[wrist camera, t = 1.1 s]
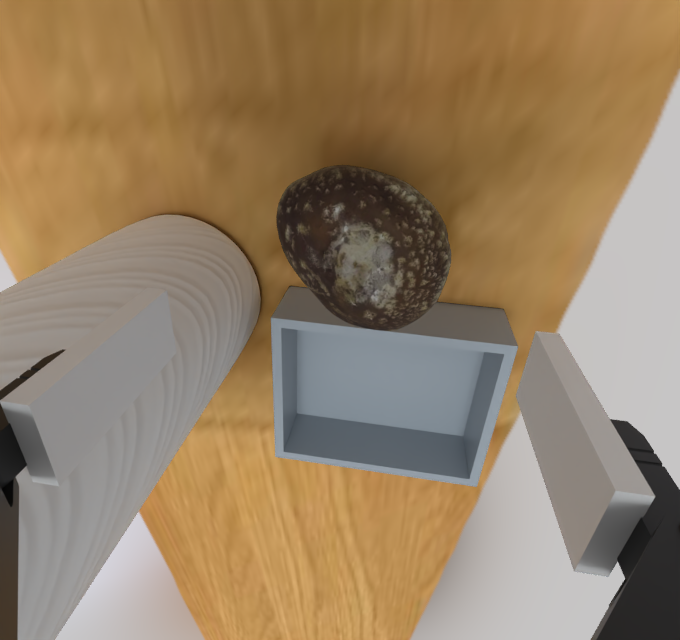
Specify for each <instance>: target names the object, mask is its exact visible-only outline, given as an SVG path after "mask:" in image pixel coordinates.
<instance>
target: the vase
mask: <svg viewBox="0 0 680 640" xmlns="http://www.w3.org/2000/svg"><path fill="white" fill-rule="evenodd" d="M146 288H155V289H164V290H167V294H168V300H169V307H170V313H171V320H172V326H173V333H174V339H175V346H176V352H177V353H176V354H175V355H174V356H173V357H172V358H171V360H170V361H169V362H168V363H167V364H166V365H165V366H164V368H163V369H162V370H161V371H160V372H159V373H158V374H157V376H156V377H155V378H154V379H153V380H152V381H151V382H150V384H149V385H148V386H147V387H146V388H145V389H144V390H143V392H142V393H141V394H140V395H139V396H138V397H137V398H136V399H135V401H134V402H133V403H132V404H131V405H130V406H129V407H128V409H127V410H126V411H125V412H124V413H123V414H122V415H121V417H120V418H119V419H118V420H117V421H116V422H115V423H114V425H113V426H112V427H111V428H110V429H109V430H108V431H107V433H106V434H105V435H104V436H103V437H102V438H101V439H100V441H99V442H98V443H97V444H96V445H95V446H94V447H93V448H92V450H91V451H90V452H89V453H88V454H87V455H86V456H85V458H84V459H83V460H82V461H81V462H80V463H79V464H78V466H77V467H76V468H75V469H74V470H73V471H72V472H71V474H70V475H69V476H68V477H67V478H66V479H65V480H64V482H63V483H62V484H61V485H60V486H54V485H48V484H42V483H36V482H33V481H32V479H31V476H30V474H29V471H28V469H27V467H25V468H24V469H23V470H22V471H21V472H20V473H19V474H18V475H17V476H16V479H17V482H18V484H19V551H18V640H55V638H56V637H57V635H58V634H59V632H60V631H61V629H62V628H63V626H64V625H65V623H66V622H67V620H68V618H69V617H70V616H71V614H72V613H73V611H74V609H75V608H76V606H77V605H78V603H79V602H80V600H81V599H82V597H83V596H84V594H85V593H86V591H87V590H88V588H89V587H90V585H91V583H92V582H93V580H94V579H95V577H96V576H97V574H98V573H99V571H100V570H101V568H102V567H103V565H104V564H105V562H106V560H107V559H108V557H109V556H110V554H111V553H112V551H113V550H114V548H115V547H116V545H117V544H118V542H119V541H120V539H121V537H122V536H123V534H124V533H125V531H126V530H127V528H128V527H129V525H130V524H131V522H132V521H133V519H134V517H135V516H136V514H137V513H138V511H139V510H140V508H141V507H142V505H143V504H144V502H145V501H146V499H147V497H148V496H149V494H150V493H151V491H152V490H153V488H154V487H155V485H156V484H157V482H158V481H159V479H160V477H161V476H162V474H163V473H164V471H165V470H166V468H167V467H168V465H169V464H170V462H171V460H172V459H173V457H174V456H175V454H176V453H177V451H178V450H179V448H180V447H181V445H182V443H183V442H184V440H185V439H186V437H187V436H188V434H189V433H190V431H191V430H192V428H193V426H194V425H195V423H196V422H197V420H198V419H199V417H200V416H201V414H202V413H203V411H204V409H205V408H206V406H207V405H208V403H209V402H210V400H211V399H212V397H213V396H214V394H215V393H216V391H217V389H218V388H219V386H220V385H221V383H222V382H223V380H224V379H225V377H226V376H227V374H228V372H229V371H230V369H231V368H232V366H233V365H234V363H235V361H236V360H237V358H238V357H239V355H240V353H241V352H242V350H243V348H244V347H245V345H246V343H247V341H248V340H249V338H250V336H251V334H252V332H253V330H254V327H255V325H256V323H257V320H258V316H259V312H260V302H261V298H260V288H259V285H258V281H257V277H256V275H255V273H254V271H253V268H252V266H251V264H250V263H249V261H248V260H247V258H246V256H245V255H244V254H243V252H242V251H241V250H240V249H239V248H238V246H237V245H236V244H235V243H234V242H233V241H232V240H230V239H229V238H228V237H227V236H226V235H225V234H223V233H222V232H220V231H219V230H217V229H216V228H214V227H213V226H211V225H209V224H207V223H205V222H203V221H200V220H197V219H194V218H191V217H186V216H181V215H159V216H153V217H150V218H147V219H144V220H141V221H138V222H136V223H133V224H131V225H128V226H126V227H124V228H122V229H120V230H118V231H116V232H113V233H111V234H109V235H107V236H106V237H104V238H102V239H100V240H98V241H96V242H94V243H92V244H90V245H88V246H86V247H84V248H83V249H81V250H79V251H77V252H75V253H73V254H71V255H69V256H68V257H66V258H64V259H62V260H60V261H58V262H56V263H55V264H53V265H51V266H49V267H47V268H45V269H43V270H41V271H40V272H38V273H36V274H34V275H32V276H30V277H28V278H26V279H24V280H23V281H21V282H19V283H17V284H15V285H13V286H11V287H9V288H7V289H6V290H4V291H2V292H0V390H1V389H3V388H4V387H5V386H7V385H8V384H9V383H11V382H12V381H13V380H15V379H16V378H19V377H20V375H22V374H23V373H24V372H26V371H27V370H30V369H31V367H32V366H34V365H35V364H36V363H38V362H39V361H40V360H42V359H43V358H44V357H47V356H49V355H51V354H53V353H55V352H58V351H60V350H62V349H64V350H67V349H68V348H69V347H70V346H72V345H73V344H74V343H76V342H77V341H78V340H80V339H81V338H82V337H84V336H85V335H86V334H87V333H89V332H90V331H91V330H93V329H94V328H95V327H97V326H98V325H99V324H100V323H102V322H103V321H104V320H106V319H107V318H108V317H110V316H111V315H112V314H113V313H115V312H116V311H117V310H119V309H120V308H121V307H123V306H124V305H125V304H126V303H128V302H129V301H130V300H132V299H133V298H134V297H136V296H137V295H138V294H140V293H141V292H142V291H143V290H145V289H146Z"/></svg>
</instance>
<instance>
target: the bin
mask: <svg viewBox="0 0 680 640" xmlns="http://www.w3.org/2000/svg"><path fill="white" fill-rule="evenodd" d="M271 336H272V367H273V398H274V429H275V457H281V458H287V459H294V460H301V461H307V462H314V463H321V464H327V465H334V466H341V467H348V468H354V469H361V470H368V471H374V472H381V473H388V474H394V475H401V476H408V477H414V478H421V479H428V480H435V481H441V482H448V483H455V484H461V485H468V486H475V487H477V484H478V481H479V477H480V474H481V471H482V467H483V464H484V460H485V457H486V454H487V450H488V447H489V443H490V440H491V437H492V433H493V430H494V427H495V423H496V420H497V416H498V413H499V410H500V406H501V403H502V400H503V396H504V393H505V389H506V386H507V383H508V379H509V376H510V372H511V369H512V366H513V362H514V359H515V356H516V352H517V349H518V345H517V342H516V340H515V337H514V335H513V332H512V330H511V327H510V324H509V322H508V319H507V317H506V314H505V312H504V309H499V308H489V307H480V306H471V305H461V304H452V303H443V302H436V303H435V304H434V305H433V307H432V308H431V309H430V310H429V311H428V312H427V313H426V314H424V315H423V316H422V317H421V318H419V319H418V320H416V321H414V322H412V323H411V324H409V325H407V326H405V327H403V328H400V329H398V330H392V331H379V330H372V329H366V328H362V327H359V326H355V325H351V324H349V323H347V322H345V321H343V320H341V319H340V318H338V317H336V316H335V315H333V314H332V313H331V312H330V311H328V310H327V309H326V308H325V307H324V305H323V304H322V303H321V302H320V301H319V300H318V298H317V297H316V296H315V295H314V294H313V293H312V292H311V290H310V289H309V288H304V287H295V286H290V287H289V288H288V290H287V292H286V293H285V295H284V297H283V298H282V300H281V302H280V303H279V305H278V307H277V308H276V310H275V312H274V313H273V315H272V317H271Z"/></svg>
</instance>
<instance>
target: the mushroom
mask: <svg viewBox="0 0 680 640" xmlns="http://www.w3.org/2000/svg"><path fill="white" fill-rule="evenodd" d="M277 229H278V235H279V239H280V242H281V245H282V249H283V251H284V253H285V255H286V257H287V259H288V261H289V263H290V265H291V266H292V268H293V269H294V270H295V272H296V273H297V274H298V276H299V277H300V278H301V280H302V281H303V282H304V284H305V285H306V286H307V287H308V288H309V289H310V290H311V292H312V293H313V294H314V295H315V296H316V297H317V298H318V300H319V301H320V302H321V303H322V304H323V305H324V307H325V308H326V309H327V310H328V311H330V312H331V313H332V314H333V315H335V316H336V317H338V318H340V319H341V320H343V321H345V322H347V323H349V324H351V325H355V326H359V327H362V328H366V329H372V330H379V331H392V330H398V329H400V328H403V327H405V326H407V325H409V324H411V323H412V322H414V321H416V320H418V319H419V318H421V317H422V316H423V315H424V314H426V313H427V312H428V311H429V310H430V309H431V308H432V307H433V305H434V304H435V303H436V302H437V300H438V298H439V296H440V294H441V291H442V289H443V287H444V284H445V282H446V279H447V276H448V273H449V268H450V264H451V250H450V245H449V242H448V233H447V230H446V226H445V224H444V222H443V220H442V218H441V216H440V214H439V213H438V211H437V210H436V209H435V207H434V206H433V205H432V204H431V203H430V202H429V201H428V200H427V199H426V198H425V197H424V196H423V195H422V194H420V193H419V192H418V191H417V190H416V189H415V188H413V187H412V186H411V185H409V184H408V183H406V182H404V181H402V180H400V179H398V178H395V177H393V176H390V175H387V174H384V173H381V172H378V171H375V170H371V169H367V168H361V167H356V166H348V165H337V166H330V167H326V168H323V169H320V170H318V171H316V172H314V173H312V174H310V175H307V176H305V177H303V178H301V179H299V180H297V181H295V182H293V183H292V184H291V185H289V186H288V187H287V189H286V190H285V192H284V193H283V195H282V197H281V199H280V202H279V205H278V210H277Z"/></svg>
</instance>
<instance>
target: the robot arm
mask: <svg viewBox="0 0 680 640" xmlns="http://www.w3.org/2000/svg"><path fill="white" fill-rule="evenodd" d="M176 353H177V352H176V346H175V339H174V333H173V326H172V320H171V313H170V307H169V300H168V294H167V290H164V289H155V288H146V289H145V290H143V291H142V292H141V293H140V294H138V295H137V296H136V297H134V298H133V299H132V300H130V301H129V302H128V303H126V304H125V305H124V306H123V307H121V308H120V309H119V310H117V311H116V312H115V313H113V314H112V315H111V316H110V317H108V318H107V319H106V320H104V321H103V322H102V323H100V324H99V325H98V326H97V327H95V328H94V329H93V330H91V331H90V332H89V333H87V334H86V335H85V336H84V337H82V338H81V339H80V340H78V341H77V342H76V343H74V344H73V345H72V346H70V347H69V348H68V349H67V350H64V349H62V350H60V351H58V352H55V353H53V354H51V355H49V356H47V357H44V358H43V359H42V360H40V361H39V362H38V363H36V364H35V365H34V366H32V367H31V369H30V370H27V371H26V372H24V373H23V374H22V375H20V377H19V378H16V379H15V380H13V381H12V382H11V383H9V384H8V385H7V386H5V387H4V388H3V389H1V390H0V640H18V551H19V484H18V482H17V479H16V476H17V475H18V474H19V473H20V472H21V471H22V470H23V469H24V468H25V467H27V469H28V471H29V474H30V476H31V479H32V481H33V482H36V483H42V484H48V485H54V486H60V485H61V484H62V483H63V482H64V480H65V479H66V478H67V477H68V476H69V475H70V474H71V472H72V471H73V470H74V469H75V468H76V467H77V466H78V464H79V463H80V462H81V461H82V460H83V459H84V458H85V456H86V455H87V454H88V453H89V452H90V451H91V450H92V448H93V447H94V446H95V445H96V444H97V443H98V442H99V441H100V439H101V438H102V437H103V436H104V435H105V434H106V433H107V431H108V430H109V429H110V428H111V427H112V426H113V425H114V423H115V422H116V421H117V420H118V419H119V418H120V417H121V415H122V414H123V413H124V412H125V411H126V410H127V409H128V407H129V406H130V405H131V404H132V403H133V402H134V401H135V399H136V398H137V397H138V396H139V395H140V394H141V393H142V392H143V390H144V389H145V388H146V387H147V386H148V385H149V384H150V382H151V381H152V380H153V379H154V378H155V377H156V376H157V374H158V373H159V372H160V371H161V370H162V369H163V368H164V366H165V365H166V364H167V363H168V362H169V361H170V360H171V358H172V357H173V356H174V355H175V354H176ZM516 398H517V401H518V404H519V407H520V410H521V413H522V416H523V419H524V422H525V425H526V428H527V431H528V434H529V437H530V440H531V443H532V446H533V449H534V452H535V455H536V458H537V461H538V464H539V467H540V470H541V473H542V476H543V479H544V482H545V485H546V488H547V490H548V494H549V497H550V500H551V503H552V506H553V509H554V512H555V515H556V518H557V521H558V524H559V527H560V530H561V533H562V536H563V539H564V542H565V545H566V548H567V551H568V554H569V557H570V560H571V563H572V566H573V569H574V571H575V572H582V573H588V574H594V575H600V576H606V577H608V576H609V575H610V573H611V572H612V570H613V568H614V567H615V565H616V563H617V561H618V563H619V565H620V567H621V569H622V571H623V574H624V576H625V580H624V582H623V583H622V585H621V586H620V588H619V590H618V591H617V593H616V595H615V596H614V598H613V600H612V601H611V603H610V604H609V608H608V610H607V612H606V613H605V615H604V617H603V619H602V621H601V622H600V624H599V626H598V628H597V629H596V631H595V633H594V635H593V637H592V638H591V640H680V490H679V489H678V487H677V485H676V484H675V483H674V481H673V479H672V478H671V476H670V475H669V473H668V472H667V470H666V469H665V467H662V463H661V461H660V460H659V458H658V457H657V455H656V454H654V450H653V449H652V447H651V446H650V444H649V443H648V441H647V440H646V438H645V437H644V436H643V435H642V434H641V433H640V432H639V431H638V430H637V429H635V428H634V427H633V426H632V425H631V424H630V423H628V422H627V421H619V420H612V419H609V417H608V415H607V414H606V412H605V410H604V408H603V407H602V405H601V403H600V402H599V400H598V399H597V397H596V395H595V393H594V392H593V390H592V388H591V386H590V385H589V383H588V382H587V380H586V378H585V376H584V375H583V373H582V371H581V369H580V368H579V366H578V365H577V363H576V361H575V359H574V358H573V356H572V354H571V353H570V351H569V349H568V347H567V346H566V344H565V342H564V341H563V339H562V337H561V336H560V334H557V333H548V332H539V331H536V332H535V335H534V339H533V342H532V345H531V348H530V352H529V355H528V358H527V361H526V365H525V368H524V371H523V374H522V377H521V381H520V384H519V387H518V390H517V394H516Z"/></svg>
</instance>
